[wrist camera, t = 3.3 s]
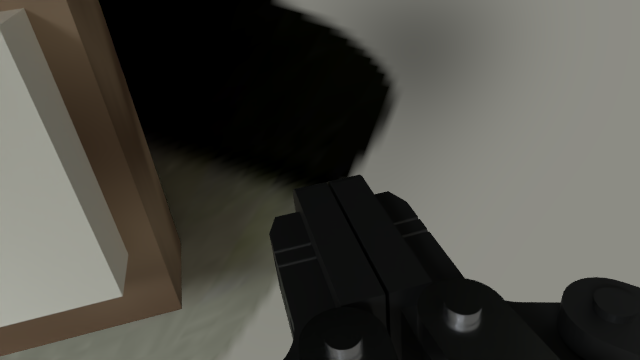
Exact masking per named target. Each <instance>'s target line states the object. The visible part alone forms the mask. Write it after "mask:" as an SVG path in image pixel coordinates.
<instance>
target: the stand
mask: <svg viewBox="0 0 640 360" xmlns="http://www.w3.org/2000/svg"><path fill="white" fill-rule="evenodd" d="M21 8H24V9H25V12H26V14H27V16H28V19H29V21H30V24H31V26H32V28H33V31H34V33H35V35H36V38H37V40H38V42H39V45H40V47H41V49H42V52H43V54H44V57H45V59H46V61H47V64H48V66H49V68H50V71H51V73H52V75H53V78H54V80H55V83H56V85H57V87H58V90H59V92H60V94H61V97H62V99H63V101H64V104H65V106H66V108H67V111H68V113H69V116H70V118H71V120H72V123H73V125H74V127H75V130H76V132H77V134H78V137H79V139H80V142H81V144H82V146H83V149H84V151H85V153H86V156H87V158H88V160H89V163H90V165H91V167H92V170H93V172H94V175H95V177H96V179H97V182H98V184H99V186H100V189H101V191H102V193H103V196H104V198H105V201H106V203H107V205H108V208H109V210H110V212H111V215H112V217H113V219H114V222H115V224H116V226H117V229H118V231H119V234H120V236H121V238H122V241H123V243H124V245H125V248H126V250H127V252H128V261H127V269H126V276H125V283H124V291H123V296H122V297H118V298H114V299H110V300H106V301H102V302H98V303H94V304H90V305H86V306H82V307H78V308H75V309H71V310H67V311H63V312H59V313H55V314H51V315H47V316H43V317H39V318H35V319H31V320H27V321H23V322H19V323H15V324H11V325H7V326H3V327H0V356H3V355H7V354H11V353H15V352H19V351H22V350H26V349H30V348H34V347H38V346H42V345H45V344H49V343H53V342H57V341H61V340H64V339H68V338H72V337H76V336H80V335H84V334H87V333H91V332H95V331H99V330H103V329H106V328H110V327H114V326H118V325H122V324H126V323H129V322H133V321H137V320H141V319H145V318H148V317H152V316H156V315H160V314H164V313H168V312H171V311H175V310H179V309H182V288H181V242H180V239H179V236H178V233H177V230H176V227H175V224H174V222H173V219H172V216H171V213H170V210H169V207H168V204H167V201H166V198H165V195H164V192H163V189H162V186H161V183H160V180H159V177H158V174H157V172H156V169H155V166H154V163H153V160H152V157H151V154H150V151H149V148H148V145H147V142H146V139H145V136H144V133H143V130H142V127H141V124H140V121H139V119H138V116H137V113H136V110H135V107H134V104H133V101H132V98H131V95H130V92H129V89H128V86H127V83H126V80H125V77H124V74H123V71H122V68H121V66H120V63H119V60H118V57H117V54H116V51H115V48H114V45H113V42H112V39H111V36H110V33H109V30H108V27H107V24H106V21H105V18H104V15H103V13H102V10H101V7H100V4H99V1H98V0H0V12H1V11H8V10H14V9H21Z"/></svg>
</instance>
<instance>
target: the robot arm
mask: <svg viewBox="0 0 640 360" xmlns="http://www.w3.org/2000/svg"><path fill="white" fill-rule="evenodd" d="M293 196H294V203H295V210H296V212H295V213H291V214H287V215H282V216H278V217H275V219H274V222H273V225H272V228H271V230H270V233H269V235H270V240H271V245H272V250H273V255H274V260H275V265H276V271H277V276H278V281H279V286H280V290H281V294H282V298H283V302H284V305H285V310H286V313H287V317H288V321H289V325H290V329H291V333H292V337H293V343H292V346H291V348H290V350H289V352H288V354H287V355H286V357H285V358H284V359H283V360H640V288H639V287H636V286H633V285H630V284H627V283H624V282H620V281H617V280H613V279H608V278H597V277H595V278H584V279H580V280H577V281H575V282H573V283H571V284H570V285H569V286H568V287H566V289H565V291H564V293H563V296H562V300H561V303H545V302H544V303H541V302H540V303H537V302H527V303H526V302H510V301H505V300H504V299H503V298H502V297H501V296H500V295H499V294H498V293H497V292H496V291H495V290H493V289H492V288H490V287H489V286H487V285H485V284H483V283H480V282H477V281H475V280H470V279H465V278H464V277H463V275H462V274H461V273H460V271H459V270H458V269H457V268H456V266H455V265H454V263H453V262H452V261H451V260H450V258H449V257H448V256H447V254H446V253H445V252H444V250H443V249H442V248H441V246H440V245H439V244H438V242H437V241H436V240H435V238H434V237H433V236H432V235H431V233H430V232H428V231H427V228H426V227H425V226H424V224H423V223H422V221H421V220H420V219H418V216H417V215H416V214H415V212H414V211H413V210H412V208H411V207H410V206H409V204H408V203H407V202H406V201H404V200H403V199H401V198H399V197H397V196H396V195H393V194H392V193H390V192H389V191H387V192H383V193H378V194H374V193H373V192H372V190H371V189H370V187H369V186H368V185H367V183H366V182H365V180H364V178H363V177H362V176H361V175H356V176H351V177H347V178H342V179H338V180H333V181H329V182H327V183H326V182H325V183H320V184H315V185H311V186H306V187H302V188H297V189H293Z"/></svg>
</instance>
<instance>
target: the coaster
mask: <svg viewBox="0 0 640 360" xmlns="http://www.w3.org/2000/svg"><path fill="white" fill-rule="evenodd" d="M127 261H128V252H127V250H126V248H125V245H124V243H123V241H122V238H121V236H120V234H119V231H118V229H117V226H116V224H115V222H114V219H113V217H112V215H111V212H110V210H109V208H108V205H107V203H106V201H105V198H104V196H103V193H102V191H101V189H100V186H99V184H98V182H97V179H96V177H95V175H94V172H93V170H92V167H91V165H90V163H89V160H88V158H87V156H86V153H85V151H84V149H83V146H82V144H81V142H80V139H79V137H78V134H77V132H76V130H75V127H74V125H73V123H72V120H71V118H70V116H69V113H68V111H67V108H66V106H65V104H64V101H63V99H62V97H61V94H60V92H59V90H58V87H57V85H56V83H55V80H54V78H53V75H52V73H51V71H50V68H49V66H48V64H47V61H46V59H45V57H44V54H43V52H42V49H41V47H40V45H39V42H38V40H37V38H36V35H35V33H34V31H33V28H32V26H31V24H30V21H29V19H28V16H27V14H26V12H25V9H24V8H21V9H14V10H8V11H1V12H0V327H3V326H7V325H11V324H15V323H19V322H23V321H27V320H31V319H35V318H39V317H43V316H47V315H51V314H55V313H59V312H63V311H67V310H71V309H75V308H78V307H82V306H86V305H90V304H94V303H98V302H102V301H106V300H110V299H114V298H118V297H122V296H123V291H124V283H125V276H126V269H127Z"/></svg>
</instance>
